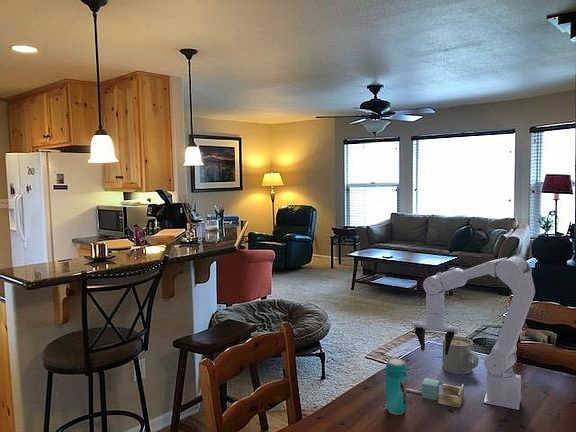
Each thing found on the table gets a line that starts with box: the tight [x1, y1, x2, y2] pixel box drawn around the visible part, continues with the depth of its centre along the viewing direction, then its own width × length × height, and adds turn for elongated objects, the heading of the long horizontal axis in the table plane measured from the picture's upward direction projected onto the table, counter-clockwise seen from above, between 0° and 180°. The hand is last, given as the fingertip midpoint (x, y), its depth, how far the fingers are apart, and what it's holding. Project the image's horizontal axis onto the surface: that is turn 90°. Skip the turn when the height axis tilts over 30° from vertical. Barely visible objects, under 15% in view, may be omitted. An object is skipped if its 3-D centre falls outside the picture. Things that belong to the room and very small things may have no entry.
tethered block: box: [406, 377, 440, 401], centre depth 149 cm, size 12×4×6 cm, turn 62°
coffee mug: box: [441, 335, 479, 375], centre depth 165 cm, size 13×10×10 cm
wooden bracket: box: [437, 383, 465, 408], centre depth 144 cm, size 6×8×4 cm
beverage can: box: [385, 357, 407, 416], centre depth 137 cm, size 6×6×15 cm
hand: (434, 351), depth 157 cm, fingers open, 7 cm apart
